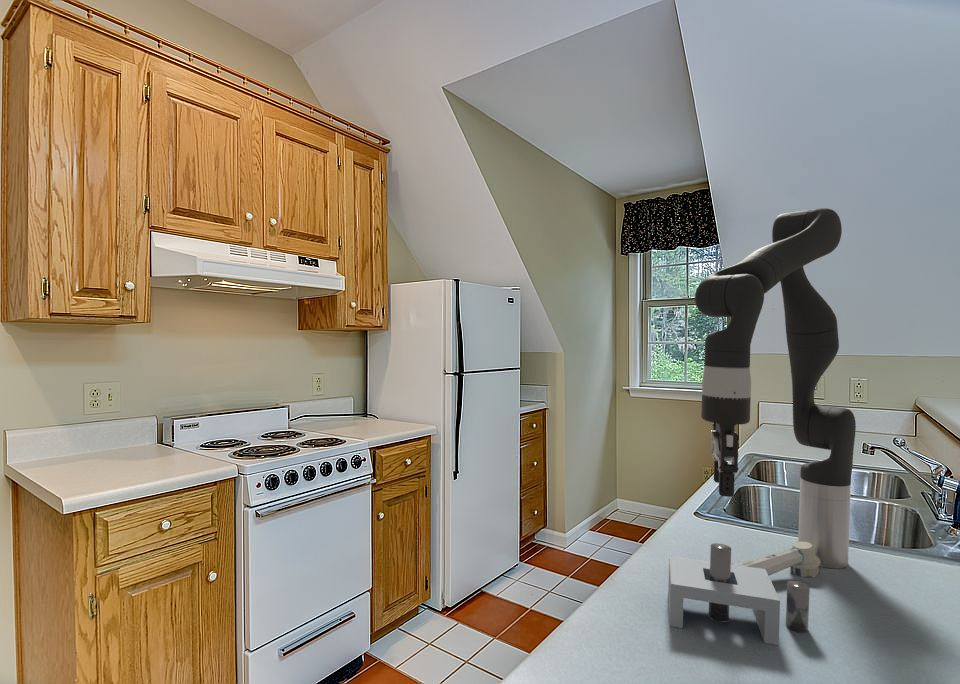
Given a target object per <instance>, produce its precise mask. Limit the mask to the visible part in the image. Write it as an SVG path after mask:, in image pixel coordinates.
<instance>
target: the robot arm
mask: <svg viewBox="0 0 960 684" xmlns="http://www.w3.org/2000/svg"><path fill="white" fill-rule="evenodd" d="M842 229H843V228H842V222H841V219H840V216H839V214H838V213H837V212H836V211H835V210H834V209H831V208H826V207H821V208H820V207H819V208H813V209H804V210H798V211H791V212H784V213H781V214H778V216H777V217H776V218H775V220H774V222H773V224H772V230H771V238H772V243H770V244H767V245H765V246H763V247H759V248H758V249H756V250H754V251H752V252H751V253H750V254H749V255H747V256H746V257H745V258H743V259H742V260H740V261H739V262H738V263H735V264H734V265H731V266H727V267H725V268H722V269H721V270H718V271H716V272H712V273H711V274H709V275H708V276H706V277H705V278H704V279H702V280H701V282H700V283H699V284H698V286H697V288H696V290H695V294H694V302H695V306H696V308H697V309H698V311H699V312H700V313H701V314H702V315H704V316H706V317H710V318H711V317H712V318H731V319H730V322H729V323H728V325H727V327H725V328H724V329H722V330H721V329H720V330H717V331H713V332H710V333H708V334H707V335H706V338H705V341H704V366H703V373H702V374H703V375H702V382H701V385H702V386H701V412H700V413H701V414H700V415H701V419H702V420H703V421H704V422H708V423H712V430H711V431H710V437H711V438H710V439H711V444H710V445H711V446H710V447H711V453H712V459H713V481H714V482H715V483H717V484H718V494H719V495H720V496H721V497H727V498H728V497H730V498H732V497H733V496H734V495H735V475H736V474H737V473H738V471H739V443H740V435H739V434H738V433H737V432H736V429H735V426H736V425H741V426H742V425H747V424H748V423H750V421H751V399H752V398H751V395H752V394H751V393H752V378H751V344H752V339H753V337H754V334H755V329H756V327H757V322H758V319H759V318H760V317H759V316H760V314H761V312H762V309H763V304H764V302H765V294H766V293H768V292H769V291H770V290H771V289H772V288H774V287H775V286H776V285H778V284H779V283H780V285H781V286H780V287H781V293H782V294H781V295H782V300H783V309H784V310H783V311H784V325H785V336H786V345H787V352H788V356H789V357H788V358H789V365H790V373H791V374H790V375H791V386H792V388H791V389H792V393H791V395H792V427H793V433H794V436H795V439H796V441H797V442H798V444H800V445H802V446H806V447H811V448H817V449H821V450H822V449H823V450H827V451H830V454H829V457H828V458H826V459H824V460H819V461H812V462H811V461H810V462H806V463H803V464H802V465H801V467H800V477H799V478H800V480H799V509H798V511H799V512H798V539H797V540H798V541H797V542H802V541H803V542H808V543H811V545H812V546H813V548H814V551H815V556H818V558H819V559H820V562H821V563H820V565H819V567H821V568H829V569H844V568H847V567H848V566H849V547H850V525H851V524H850V521H851V519H850V515H851V488H852V473H853V463H854V461H853V460H854V450H855V449H854V448H855V439H856V430H857V427H856V426H857V425H856V418H855V415H854V413H853V411H852V410H851V409H848V408H845V407H838V406H831V405H829V406H828V405H819V404H816V402H815V389H816V387H817V385H818V383H819V381H820V379H821V378H822V377H823V375H824V373H825V372H826V371H827V369H828V368H829V366H830V365H831V363H832V362H833V361H834V360H835V358H836V356H837V354H838V352H839V348H840V341H839V328H838V320H837V316H836V314H835V311H834V310H833V309H832V307H831V306H830V305H829V304H828V302H827V301H826V300H825V298H824V297H822V295H821V294H820V293H819V292H818V291H817V290H816V288H814V286H813V285H812V283H811V282H810V280H809V279H808V277H807V274H806V272H805V269H804V266H806V265H808V264H810V263H812V262H814V261H816V260H818V259H820V258H822V257H825V256H827V255H830V253H832V252H833V251H835V249H837V247H838V246H839V244H840V241H841V238H842ZM729 462H730V463H731V464H730V463H729Z"/></svg>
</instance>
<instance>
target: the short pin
mask: <svg viewBox="0 0 960 684" xmlns="http://www.w3.org/2000/svg"><path fill="white" fill-rule="evenodd" d="M786 583H787V584H786V605H785V627H786V628H787V629H788V630H791V631H793V632H796V633H800V634H801V633H802V634H804V633H808V631H809V611H810V610H809V609H810V593H811V591H810V586H809V585H808V584H806V583H804V582H801V581H797V580H788V581H787V582H786Z"/></svg>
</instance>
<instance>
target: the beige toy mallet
mask: <svg viewBox="0 0 960 684" xmlns="http://www.w3.org/2000/svg"><path fill="white" fill-rule="evenodd" d="M820 563H821V562H820V559H819V558H818V556H815V551H814V548H813V546H812V545H811V543H808V542H803V541H802V542H798V541H797V542H796V541H795V542H794V543H793V544H792V546H791V548H788V549H784V550H782V551H778V552H774V553H771V554H767V555H763V556H761V557H760V556H759V557H757V558H754V559H750V560H746V561H743V562H740V563H736V564H735V563H732V562H731V564H732V565H739V566H746V567H754V568H761V569H766V571H767V573H768V576H769V577H770V576H772V575H774V574H777V573H779V572H781V571H784V570H786V569H788V568H789V571H790V572H791V573H792V574H794V575H795V576H798V577H803V578H806V577H810V578H815V577H817V576H818V573H820V569H819V568H820V566H819V565H820ZM730 584H731V583H730Z"/></svg>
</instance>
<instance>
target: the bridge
mask: <svg viewBox="0 0 960 684" xmlns="http://www.w3.org/2000/svg"><path fill="white" fill-rule="evenodd" d="M668 561H669V562H668V585H667V586H668V590H667V591H668V597H667V598H668V616H669V618H668V619H669V620H668V621H669V626H670V627H673V628H679V629H683V627H684V599H686V600H687V599H688V600H695V601H700V602H706V603H709V602H712V603H718V604H724V605H729V607H730V606H732V607H737V608H744V609H749V610H752V612H753V615H754V617H755V619H756V622H757V626H758V628H759V631H760V635H761V638H762V640H763V643H764V644H768V645H770V644H771V645H775V646H779V644H780V643H779V641H780V617H781V616H780V615H781V611H780V610H781V600H780V598H779V595H778V593H777V591H776V589H775V587H774V584H773V583H772V580H771V578H770V575H769V576H768V573H767V571H766V569H761V568H754V567H746V566H739V565H732V563H731V573H730V583H731V584H728V583H721V582H714V581H710V560H702V559H695V558H688V557H682V556H676V555H675V556H673V555H669V557H668Z"/></svg>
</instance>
